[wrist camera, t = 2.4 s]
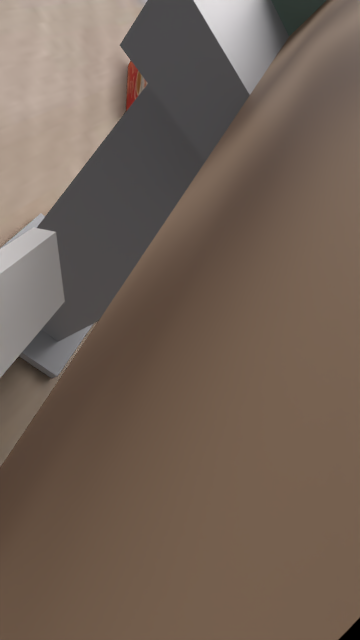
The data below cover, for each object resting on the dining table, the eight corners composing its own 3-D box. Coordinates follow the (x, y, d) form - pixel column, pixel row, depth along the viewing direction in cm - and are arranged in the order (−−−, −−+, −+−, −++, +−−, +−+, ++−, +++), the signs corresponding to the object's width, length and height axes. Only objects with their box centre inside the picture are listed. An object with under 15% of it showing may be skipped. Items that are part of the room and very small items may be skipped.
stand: (46, 386, 31) (368, 293, 11) (-70, 311, 26) (119, -125, 6) (116, 284, 41) (357, 132, 20) (41, 215, 36) (259, -77, 16)
